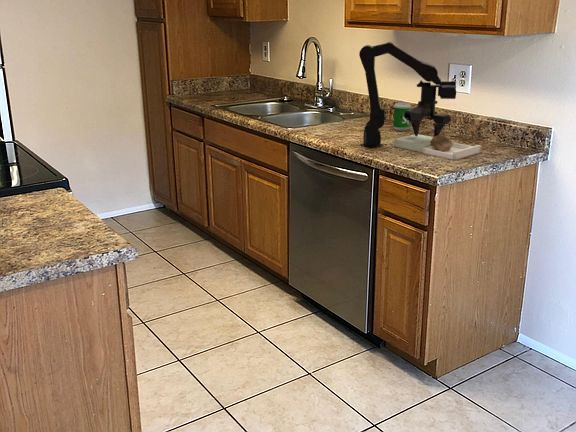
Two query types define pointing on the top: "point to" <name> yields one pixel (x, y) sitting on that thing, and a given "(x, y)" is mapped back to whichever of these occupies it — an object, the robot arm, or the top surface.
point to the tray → (453, 151)
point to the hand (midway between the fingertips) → (425, 138)
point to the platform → (414, 142)
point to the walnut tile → (441, 142)
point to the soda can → (401, 116)
